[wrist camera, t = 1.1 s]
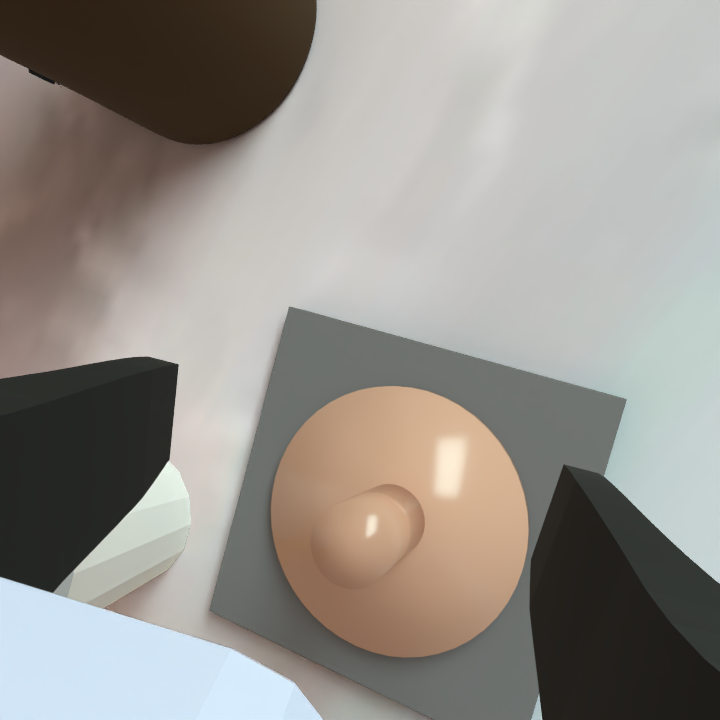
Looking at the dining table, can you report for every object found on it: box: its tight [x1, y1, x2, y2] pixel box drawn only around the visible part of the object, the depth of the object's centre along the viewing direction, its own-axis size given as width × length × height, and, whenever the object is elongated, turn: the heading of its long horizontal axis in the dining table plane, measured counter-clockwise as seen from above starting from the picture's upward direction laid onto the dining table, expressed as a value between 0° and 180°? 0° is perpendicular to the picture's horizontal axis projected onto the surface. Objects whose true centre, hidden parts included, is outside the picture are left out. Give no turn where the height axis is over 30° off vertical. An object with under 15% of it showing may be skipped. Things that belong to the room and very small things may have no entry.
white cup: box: [53, 461, 191, 608], centre depth 24 cm, size 7×7×7 cm
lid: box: [271, 386, 530, 658], centre depth 20 cm, size 9×9×4 cm
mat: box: [209, 307, 626, 720], centre depth 23 cm, size 12×12×1 cm
